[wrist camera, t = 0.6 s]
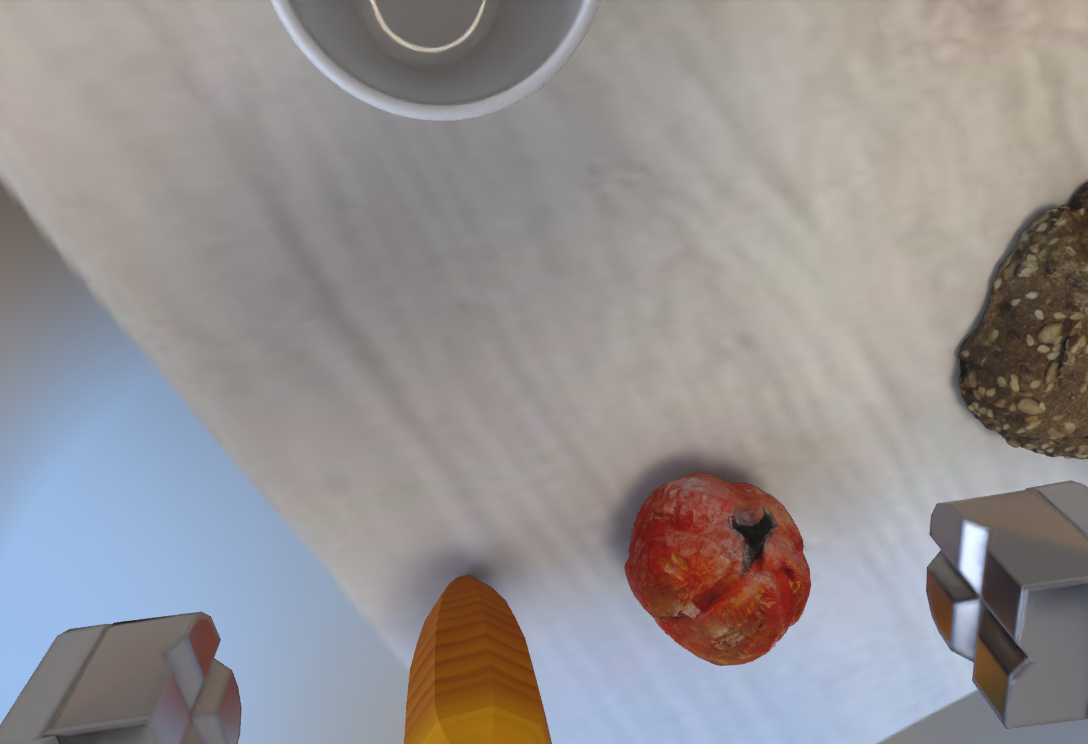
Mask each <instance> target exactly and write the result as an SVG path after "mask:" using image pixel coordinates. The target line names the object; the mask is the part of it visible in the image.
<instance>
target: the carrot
mask: <svg viewBox="0 0 1088 744" xmlns="http://www.w3.org/2000/svg"><path fill="white" fill-rule="evenodd" d="M404 744H552V742H551V738H550V734H549V729H548V725H547V721H546V716H545V712H544V708H543V704H542V700H541V696H540V692H539V689H538V685H537V681H536V677H535V673H534V669H533V666H532V662H531V658H530V655H529V651H528V647H527V644H526V640H525V637H524V635H523V633H522V631H521V629H520V627H519V625H518V622H517V620H516V618H515V616H514V615H513V613H512V611H511V609H510V608H509V606H508V604H507V602H506V601H505V599H504V598H502V597H501V596H500V595H499V594H498V593H497V592H496V591H495V590H494V589H493V588H492V587H490V586H488V585H487V584H485V583H483V582H481V581H480V580H478V579H476V578H474V577H472V576H470V575H465V576H461V577H457V578H456V579H455V580H454V581H452V582H451V583H450V584H449V585H448V587H447V588H446V590H445V591H444V592H443V594H442V595H441V597H440V598H439V600H438V601H437V603H436V604H435V606H434V607H433V609H432V611H431V612H430V614H429V615H428V617H427V619H426V620H425V622H424V625H423V628H422V631H421V634H420V637H419V640H418V642H417V646H416V649H415V653H414V657H413V660H412V664H411V668H410V676H409V685H408V695H407V705H406V723H405V739H404Z"/></svg>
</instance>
